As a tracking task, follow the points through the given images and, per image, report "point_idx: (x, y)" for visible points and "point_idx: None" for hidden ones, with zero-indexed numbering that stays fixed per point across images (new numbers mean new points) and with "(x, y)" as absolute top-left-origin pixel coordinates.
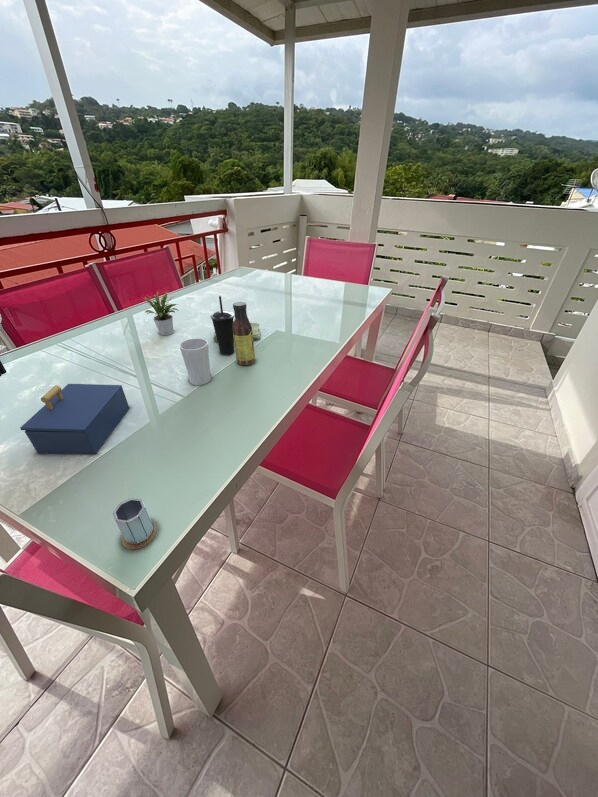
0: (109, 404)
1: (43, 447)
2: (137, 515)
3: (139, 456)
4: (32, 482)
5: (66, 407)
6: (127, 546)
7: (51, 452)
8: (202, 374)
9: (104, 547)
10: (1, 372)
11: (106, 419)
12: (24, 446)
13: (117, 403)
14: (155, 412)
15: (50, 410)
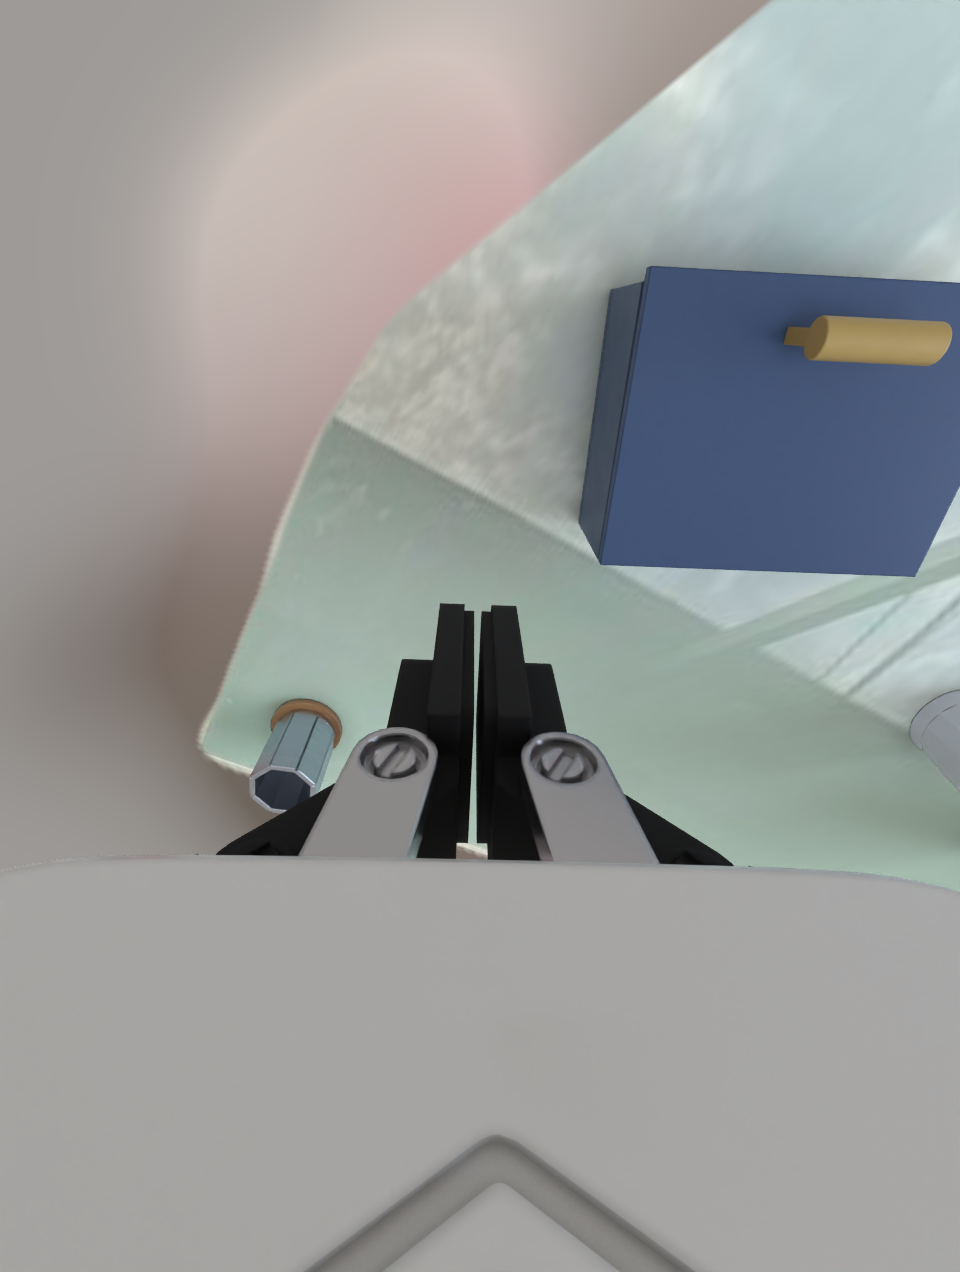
0: None
1: (611, 334)
2: (270, 809)
3: (554, 651)
4: (457, 369)
5: (785, 412)
6: (273, 721)
7: (603, 356)
8: (939, 765)
9: (269, 673)
10: (476, 723)
11: None
12: (671, 182)
13: None
14: (776, 631)
15: (778, 342)
